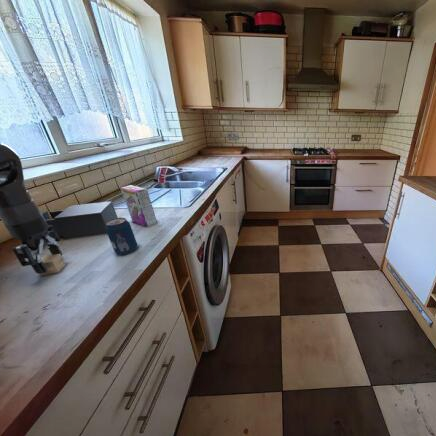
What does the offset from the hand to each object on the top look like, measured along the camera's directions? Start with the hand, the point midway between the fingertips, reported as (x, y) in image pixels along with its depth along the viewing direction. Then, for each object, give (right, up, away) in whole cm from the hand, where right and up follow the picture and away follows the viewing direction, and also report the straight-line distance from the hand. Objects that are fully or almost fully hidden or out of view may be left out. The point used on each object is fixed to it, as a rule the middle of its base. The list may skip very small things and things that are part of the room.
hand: (50, 264), depth 71 cm
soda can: (+16, +3, +11) cm, 20 cm away
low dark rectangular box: (-8, +10, +25) cm, 28 cm away
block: (0, -2, +1) cm, 3 cm away
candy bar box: (+10, +12, +31) cm, 34 cm away
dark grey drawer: (-20, +9, +21) cm, 30 cm away
